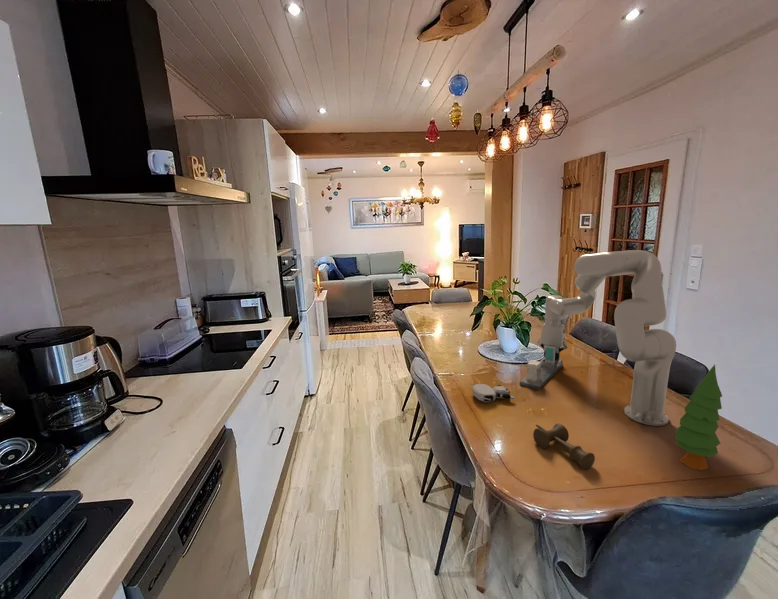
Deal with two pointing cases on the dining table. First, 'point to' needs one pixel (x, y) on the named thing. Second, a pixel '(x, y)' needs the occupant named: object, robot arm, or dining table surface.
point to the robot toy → (490, 392)
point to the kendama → (563, 444)
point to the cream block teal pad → (550, 354)
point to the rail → (543, 377)
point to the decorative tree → (700, 423)
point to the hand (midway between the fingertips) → (551, 358)
